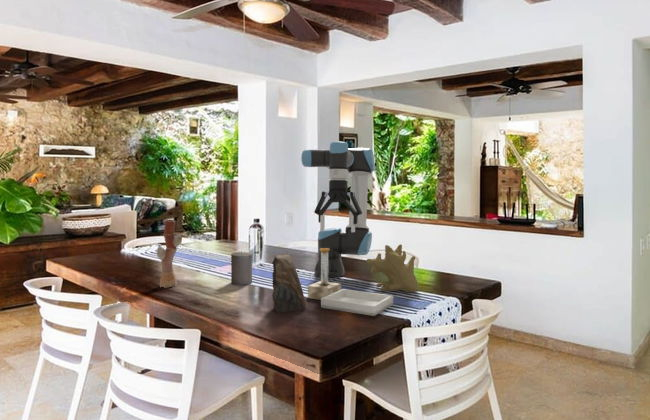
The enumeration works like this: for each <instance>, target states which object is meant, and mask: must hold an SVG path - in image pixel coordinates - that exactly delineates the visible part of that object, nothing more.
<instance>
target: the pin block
mask: <svg viewBox="0 0 650 420" xmlns="http://www.w3.org/2000/svg"><path fill="white" fill-rule="evenodd" d="M341 289H342V283H338V282H330V281H328V286H321V280H320V281H316V282H314V283H311V284H309V285H307V298H308V299H314V300H320V301H321V298H323V297H325V296H328V295H330V294H332V293H335V292H337V291H339V290H341Z"/></svg>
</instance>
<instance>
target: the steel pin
mask: <svg viewBox="0 0 650 420" xmlns="http://www.w3.org/2000/svg"><path fill="white" fill-rule="evenodd" d="M320 251H321V277H320V281H321V286H328V282H329V277H328V251H330V249H329V248H320Z"/></svg>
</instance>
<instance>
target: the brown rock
mask: <svg viewBox="0 0 650 420" xmlns="http://www.w3.org/2000/svg"><path fill="white" fill-rule="evenodd" d="M271 264H272V266H273V271H272V289H273V291H272V295H271V296H272V297H271V298H272V301H273V310H274V311H275V312H276V313H279V314H281V313H288V312H296V311H298V312H299V311H303V310H307V307H306V300H305V295H304V290H303V287H302V284H301V281H300V277H299V275H298V271H297V268H296V266H295V264H294V262H293V259H292V257H291V255H290V254H289V253H284V254H276V255H275V256H274V258H273V260H272V263H271Z"/></svg>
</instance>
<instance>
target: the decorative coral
mask: <svg viewBox="0 0 650 420" xmlns="http://www.w3.org/2000/svg"><path fill="white" fill-rule="evenodd" d="M402 249H403V245H402V244H401V243H400V244H399V245H398V246H397V247H396V248H395V250H394V249H393V248H392V247H391V246H390V245H387V244H385V246H384V251H385V253H384V257H383V258H382V254H381V253H377V256H376V258H367V259H366V262H367V264H369V265H370V266H372V268H371V269H370V273H371V275H372V274H373V275H374V274H377V273H382V274H383V276H385V277H386V278H387V279H388V281H385V282H377V283H376V284H375V285H376V287H377V288H379V289H380V292H386V291H387V292H388V291H392V292H395V291H399V290H400V291H403V292H406V293H414V292H416V291H417V289H418V286H419V285H418V284H419V283H418V280H417V277H416V275H415V273H414V271H415V270H414V269H415V268H414V267H415V260H416V256H415V255H413V256H411V258H410V259H409V260H408V262H407V263H405V261H406V259H407V253H406V251H405V250H402Z"/></svg>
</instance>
